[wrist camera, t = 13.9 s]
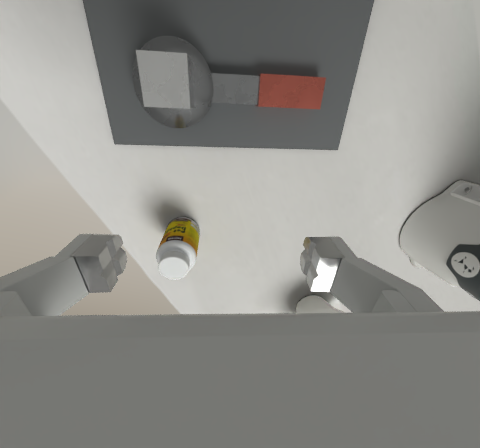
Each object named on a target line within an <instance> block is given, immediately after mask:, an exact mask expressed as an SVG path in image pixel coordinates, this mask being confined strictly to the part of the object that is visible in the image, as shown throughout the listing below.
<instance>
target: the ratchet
mask: <svg viewBox="0 0 480 448" xmlns="http://www.w3.org/2000/svg"><path fill="white" fill-rule="evenodd" d="M140 50H146V51H161V52H176V53H187V54H188V56H189V58H190V59H191V61H192V63H193V78H194V98H195V108H192V109H183V108H160V107H144V103H143V96H142V89H141V82H140V76H139V69H138V62H137V56H136V58H135V61H134V65H133V85H134V90H135V93H136V96H137V98H138V100H139V102H140V104H141V105H142V107H143V108H144V110H145V111H146V112H147V113H148V114H149V115H150V116H151V117H152V118H153V119H154V120H156V121H157V122H159V123H161V124H162V125H165V126H167V127H171V128H186V127H190V126H192V125H194V124H196V123H197V122H199V121H200V120H201V119H202V118H203V117H204V116H205V115H206V114H207V112H208V110H209V108H210V106H211V103H230V104H251V105H255V106H257V107H279V108H301V109H320V107H321V102H322V97H323V92H324V86H325V81H326V77H310V76H294V75H277V74H259V75H258V76H253V75H236V74H219V73H211V72H210V69H209V66H208V64H207V62H206V60H205V59H204V57H203V56H202V54H201V53H200V52H199V51H198V50H197V49H196V48H195V47H194V46H193V45H192V44H190V43H189V42H187V41H185V40H183V39H181V38H178V37H175V36H159V37H156V38H153V39H152V40H150V41H148V42H147V43H146V44H145V45H144V46H143V47H142V48H141V49H140Z"/></svg>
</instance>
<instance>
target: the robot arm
mask: <svg viewBox="0 0 480 448" xmlns="http://www.w3.org/2000/svg"><path fill="white" fill-rule="evenodd" d="M122 244H123V241H122V238H121V236H119V235H111V234H109V235H108V234H80V235H78V236H77V237H76V238H75V239H74V240H73V241H72V242H70V243H69V244H68V245H67V246H66V247H65V248H64V249H63V250H62V251H61V252H59V253H58V254H57V255H56V256H55V257H49V258H46V259H44V260H41V261H39V262H36V263H34V264H31V265H29V266H27V267H24V268H22V269H19V270H17V271H15V272H12V273H10V274H7V275H5V276H2V277H0V448H480V311H471V312H444V311H443V310H442V309H441V308H440V307H439V306H438V305H437V304H436V303H435V302H434V301H433V300H432V299H431V298H430V297H429V296H428V295H427V294H426V293H425V292H424V291H423V290H422V289H420V288H418V287H416V286H414V285H412V284H410V283H408V282H406V281H404V280H403V279H401V278H399V277H397V276H395V275H393V274H391V273H389V272H387V271H385V270H383V269H381V268H379V267H377V266H375V265H373V264H371V263H369V262H367V261H366V260H364V259H362V258H357V257H356V255H355V254H354V253H353V252H352V251H351V249H350V248H349V247H348V246H347V244H346V243H345V242H344V241H343V239H342V238H340V237H306V238H305V240H304V244H303V245H304V247H305V250H304V251H303V252H302V253H301V258H300V265H301V269H302V272H303V273H304V274H305V275H307V278H306V281H307V284H308V286H309V288H310V290H311V291H318V292H330V293H331V294H332V295H333V296H335V297H336V298H337V299H338V300H339V301H340V302H341V303H343V304H344V305H345V306H346V307H347V308H348V309H349V310H351V311H352V312H353V313H275V314H179V315H85V316H83V315H81V316H59V315H61V314H62V313H63V312H65V311H66V310H67V309H69V308H70V307H71V306H73V305H74V304H76V303H77V302H78V301H80V300H81V299H82V298H84V297H85V296H86V295H88V294H89V293H96V292H111V291H112V289H113V287H114V286H115V284H116V283H117V281H118V279H117V276H118V275H119V274H121V273H123V271H124V269H125V267H126V262H127V256H126V253H125V251H124V250H123V249H122V248H121V246H122ZM400 247H401V249H402V251H403V252H404V253H405V254H406V255H408V256H409V257H410V260H411V264H412V265H413V266H414V267H416V268H425V269H426V270H428V271H429V272H431V273H432V274H434V275H435V276H437V277H438V278H440V279H441V280H443V281H444V282H446V283H448V284H449V285H451V286H454V287H455V286H460V287H461V288H462V289H464V290H465V291H466V292H467V293H469V295H471V296H472V297H474V298H475V299H478V300H479V301H480V185H479V184H475V183H471V182H467V181H463V180H459V181H457V182H455V183H454V184H452V185H451V186H450V187H449V188H448V189H447V190H445V191H444V192H443V193H442V194H440V195H438V196H437V197H435V198H433V199H431V200H429V201H427V202H426V203H424V204H423V205H422V206H420V207H419V208H418V209H417V210H416V211H415V212H414V213H413V214H412V215H411V216H410V217H409V219H408V220H407V221H406V223H405V225H404V226H403V228H402V231H401V234H400Z"/></svg>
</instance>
